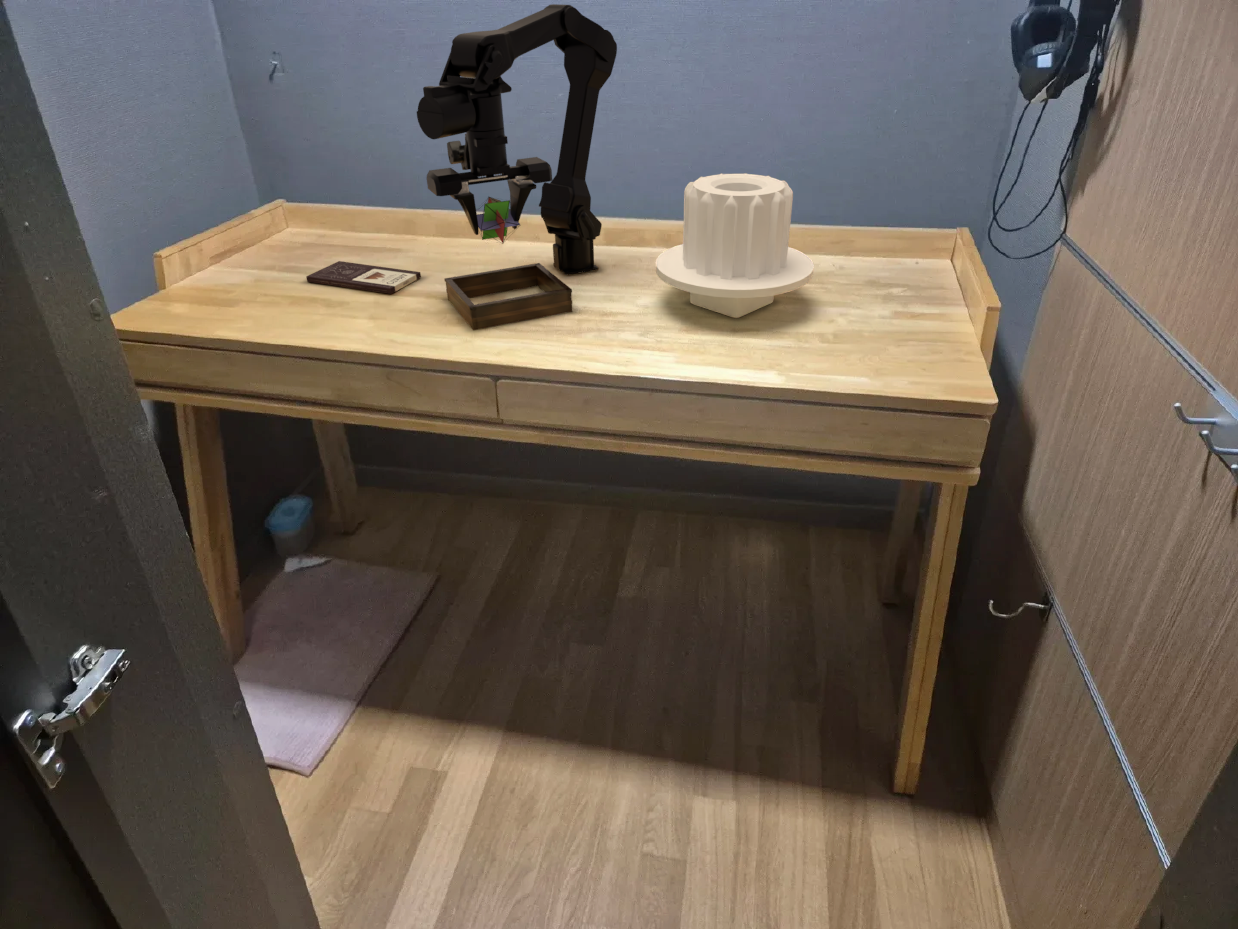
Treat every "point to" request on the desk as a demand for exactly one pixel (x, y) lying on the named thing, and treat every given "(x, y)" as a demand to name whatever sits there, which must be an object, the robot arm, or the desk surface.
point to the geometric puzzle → (495, 219)
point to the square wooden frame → (510, 309)
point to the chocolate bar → (364, 277)
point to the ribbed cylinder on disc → (735, 244)
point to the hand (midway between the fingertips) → (495, 231)
